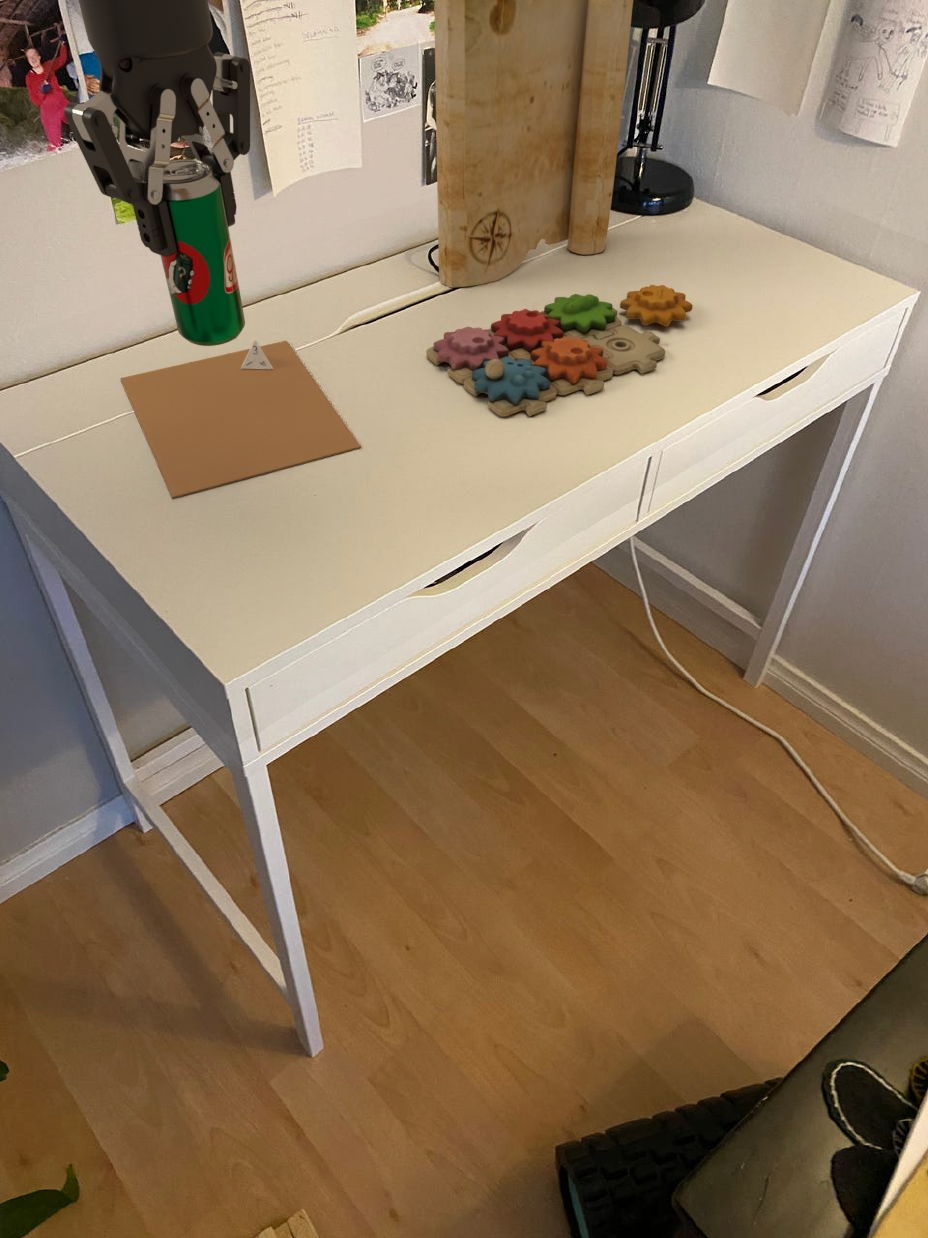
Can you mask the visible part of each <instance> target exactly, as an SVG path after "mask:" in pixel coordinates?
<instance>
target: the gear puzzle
mask: <svg viewBox="0 0 928 1238" xmlns="http://www.w3.org/2000/svg"><path fill="white" fill-rule="evenodd" d="M693 306H694V305H693V304H692V302H690V301H688V300H686V293H683V292H676V291H675V289H674V288H673V287H667V286H666V285H663V284H661V285H655V284H650V285H649V286H643V287H641V288H640V289H639V290H631V291H627V294H626V298H624V299H622V300H621V301H620V302H619V309H621V310H624V311H626V312H625V319H631V320H632V319H633V320H634V319H639V321H640V324H641V325H643V326H648V325H651V324H653V323H657V324H659V325H661V326H664V327H669V325H670V324H671V322H672V321H678V322H684V321H686V320H687V313H690V312H691V311H692V310H693ZM617 316H618V310H617V309H615V308H614V307H613V304H612V303H610V302H607V301H600V299H599V297H598V296H597V295H594V294H591V293H588V294H585V295H582V294H577V293H574V294H572V295H570V296H569V297H566V296H557V297H554V302H551V303H547V304H546V305H544V309H543V311H540V312H539V310H537V309H535V310H529V309H527V308H524V309H521V310H514V311H513V312H512V313H503V314H501V316H500V320H497V321H495V322H492V323H491V324H490V328H488V329H487V328H486V329H483V328H482V327H471V326H465V327H463V328H457V329H455V331H446V332H444V333H443V338H441V339H439V340H437V341H435V342H433V344H432V345H433V346H431V347H428V348H427V349H426V354H425V355H426V358H427V359H428V360H430V361H431V362H432V363H433V364H434V365H436V366H439V365H441V364H442V363H447V364H448V365H450V368H448V369H447V375H448V376H449V378H451V379H453V381H455V382H456V383H458V384H462V385H463V387H464V389H465V390H467V392H468V393H470V394H471V395H473V396H475V397H477V396H478V395H480V394H486V395H488V399H489V400H487V407H488V409H490V410H491V411H492V412H493V413H494V414H496V415H497V416H498V417H508V416H511V415H513V414H516V413H519V412H521V411H525V413H526V415H527V416H528V417H529V416H534V415H536V414H540V413H541V412H544V411H546V410H547V408H548V403H547V402H548V401H552V400H553V399H555V398H556V397H557V395H559V396H565V395H568V394H571V393H575V392H577V391H580V390H581V391H583V393H584V394H585V395H591V394H594V393H596V392H599V391H602V390H603V389H604V387H605V382H604V381H606V380H609V379H612V377H613V375H622V374H625V373H627V372H629V371H632V370H637V371H638V373H640V374H646V373H648V372H650V371H653V370H656V369H657V366H658V361H660V360H661V359H663V358H665V356H666V350H665V348H663V347H662V346H661V345H659V344H660V343H661V342H660V341H661V338H660V337H659V336H658V335H656V334H655V333H653V332H651V330H645V331H643V332H642V333H641V332H638V331H637V330H635V329H634V328H633V327H631V326H629V325H627V324H622V320H621V319H619V318H617Z"/></svg>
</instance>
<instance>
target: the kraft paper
mask: <svg viewBox="0 0 928 1238" xmlns="http://www.w3.org/2000/svg"><path fill="white" fill-rule="evenodd" d="M259 346H260V348H261V349H262V351H263V353H264V354H265V356H266V357H267V359H268V361H269V362H270V364H271V365H272V367H273V370H260V369H241V367H242V365H243V363H244V360H245V358H246V356H247V354H248V352H249V350H250V348H248V349H247V348H246V349H242V350H239V351H238V350H237V351H235V352H230V353H225V354H221V355H217V356H216V355H215V356H212V357H208V358H202V359H199V360H195V361H189V362H185V363H180V364H176V365H173V366H172V365H171V366H168V367H164V368H159V369H155V370H151V371H146V372H141V373H136V374H133V375H127V376H124V377H120V382H121V384H122V386H123V389H124V391H125V394H126V396H127V398H128V400H129V403H130V405H131V407H132V409H133V412H134V414H135V416H136V418H137V421H138V423H139V426H140V427H141V430H142V432H143V434H144V437H145V439H146V442H147V443H148V446H149V449H150V451H151V453H152V455H153V459H154V460H155V463H156V464H157V467H158V469H159V472H160V473H161V476H162V479H163V481H164V483H165V485H166V487H167V490H168V492H169V494H170V496H171V497H170V498H171V499H173V500H174V499H176V498H182V497H184V496H188V495H192V494H195V493H199V492H203V491H207V490H210V489H214V488H218V487H221V486H225V485H229V484H232V483H236V482H240V481H243V480H247V479H251V478H256V477H259V476H262V475H266V474H269V473H270V474H271V473H273V472H277V471H280V470H285V469H289V468H291V467H295V466H299V465H303V464H306V463H310V462H313V461H317V460H322V459H325V458H329V457H332V456H336V455H340V454H343V453H347V452H351V451H355V450H358V449H359V450H360V449H361V448H362V447H361V444H360V443H359V442H358V441H357V439H356V437H355V436H354V434H353V433H352V431H351V430H350V429H349V427H348V426H347V424H346V423H345V422H344V419H342V417H341V416H340V414H339V413H338V412H337V410H336V409H335V407H334V405H332V403H331V401H330V400H329V399H328V397H327V396H326V395H325V392H324V391H323V390H322V389H321V387H320V385H318V383H317V382H316V380H315V379H314V378H313V376H312V375H311V373H310V371H309V370H308V369H307V367H306V366H305V364H304V363H303V361H302V360H301V359H300V357H299V356H298V354H297V352H295V351H294V349H293V347H292V346H291V344H290V343H289V342H288V340H282V341H278V342H274V343H269V344H266V345H265V344H264V345H259Z"/></svg>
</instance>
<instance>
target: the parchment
mask: <svg viewBox="0 0 928 1238" xmlns="http://www.w3.org/2000/svg"><path fill="white" fill-rule="evenodd" d="M433 3H434V4H433V5H434V7H433V8H434V68H435V71H434V72H435V74H434V75H435V125H436V126H435V127H436V129H435V130H436V181H437V182H436V185H437V189H436V190H437V237H438V241H437V243H438V277H439V280H440V284H442V285H445V286H447V287H449V288H451V289H452V288H463V287H470V286H471V287H472V286H478V285H484V284H487V283H491V282H495V281H498V280H501V279H503V278H504V277H507V276H508V275H510V274H512V273H513V272H514V271H516V269H517V268H518V267H519V266H521V264H522V263H523V262H524V261H525V259H526V256H527V255H528V254H529V252H530V251H534V250H536V249H537V247H538V245H539V243H540V242H541V241H542V240H544V243H545V244H546V245H548V246H551V245H555V244H559V243H562V242H565V241H567V247H566V249H567V250H569V251H570V252H571V253H574V254H577V255H593V254H594V255H595V254H598V253H603V252H604V250H605V249H606V247H607V239H608V232H609V231H608V230H609V224H610V223H609V222H610V217H611V216H610V215H611V207H612V200H613V192H614V183H615V175H616V166H617V158H618V148H619V139H620V131H621V121H622V113H623V103H624V95H625V85H626V77H627V67H628V59H629V58H628V57H629V47H630V36H631V27H632V26H631V25H632V15H633V6H634V0H434V2H433Z"/></svg>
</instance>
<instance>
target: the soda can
mask: <svg viewBox="0 0 928 1238" xmlns="http://www.w3.org/2000/svg"><path fill="white" fill-rule="evenodd" d="M161 200H164V201H166V203H167V207H168V212H169V216H170V221H171V225H172V230H173V235H174V239H175V244H176V248H177V252H176V253H175V254H173V255H171V256H169V257H164V256H161V255H160V259H161V262H162V263H161V264H162V267H163V272H164V276H165V280H166V285H167V289H168V294H169V298H170V302H171V307H172V310H173V311H172V312H173V315H174V319H175V323H176V328H177V331H178V333H179V335H180V337H182V338H183V339H185V340H186V341H188V342H189V343H191V344H193V345H196V346H203V347H216V346H220V345H224V344H227V343H231V342H232V341H234V340H236V339H237V338H238V337H239V336H240V335H241V333H242V331H243V330H244V328H245V325H246V320H245V313H244V308H243V301H242V296H241V292H240V291H241V290H240V285H239V280H238V274H237V268H236V262H235V258H234V250H233V245H232V240H231V239H232V238H231V234H230V229H229V228H230V227H228V222H227V217H226V211H225V205H224V200H223V194H222V188H221V184H220V182H219V180H218V179H217V178H216V177H215V176H214V174H213V169H212V167H211V166H210V165H209V164H207V163H205V162H202V161H198V160H197V159H175V160H170V162H169V165H168V166H167V167H165V168H164V175H163V194H162V199H161Z"/></svg>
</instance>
